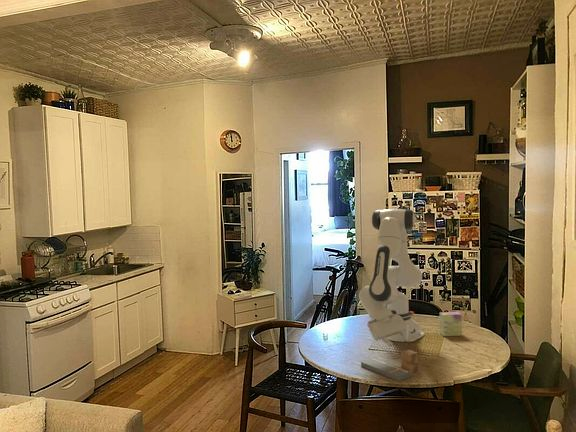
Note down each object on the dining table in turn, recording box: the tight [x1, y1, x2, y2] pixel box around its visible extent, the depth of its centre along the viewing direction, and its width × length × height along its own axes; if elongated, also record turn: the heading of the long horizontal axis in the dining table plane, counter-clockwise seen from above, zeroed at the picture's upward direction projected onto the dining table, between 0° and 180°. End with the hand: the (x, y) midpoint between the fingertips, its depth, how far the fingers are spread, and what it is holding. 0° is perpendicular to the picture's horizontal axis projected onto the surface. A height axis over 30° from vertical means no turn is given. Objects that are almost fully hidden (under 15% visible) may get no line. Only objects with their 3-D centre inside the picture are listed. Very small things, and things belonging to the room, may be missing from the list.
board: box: [360, 357, 412, 382], centre depth 204 cm, size 8×22×2 cm, turn 36°
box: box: [438, 311, 463, 337], centre depth 252 cm, size 10×6×12 cm, turn 92°
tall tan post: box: [400, 349, 419, 374], centre depth 205 cm, size 5×5×8 cm
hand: (398, 343), depth 210 cm, fingers open, 8 cm apart
